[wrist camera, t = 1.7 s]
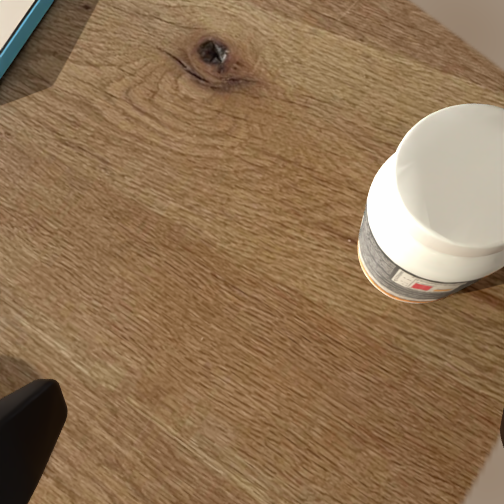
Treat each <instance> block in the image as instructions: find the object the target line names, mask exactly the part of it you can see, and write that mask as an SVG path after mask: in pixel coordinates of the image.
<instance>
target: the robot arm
mask: <svg viewBox="0 0 504 504" xmlns="http://www.w3.org/2000/svg"><path fill="white" fill-rule="evenodd" d="M66 418H67V406H66V403H65V400H64V397H63V394H62V391H61V388H60V385H59V383H58V382H57V381H56V380H53V379H37V380H34V381H33V382H31V383H29V384H27V385H25V386H24V387H22V388H20V389H18V390H16V391H15V392H13V393H11V394H9V395H7V396H5V397H4V398H2V399H0V504H28V502H29V500H30V498H31V496H32V494H33V493H34V491H35V489H36V486H37V484H38V482H39V480H40V478H41V476H42V474H43V471H44V469H45V467H46V464H47V462H48V460H49V458H50V455H51V453H52V451H53V448H54V446H55V444H56V442H57V439H58V437H59V435H60V433H61V430H62V428H63V426H64V423H65V421H66ZM500 434H501V440H502V443H503V446H504V410H503V415H502V421H501V426H500Z"/></svg>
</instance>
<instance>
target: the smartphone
mask: <svg viewBox="0 0 504 504" xmlns="http://www.w3.org/2000/svg"><path fill="white" fill-rule="evenodd" d="M53 1H54V0H0V79H1V77H2V76H3V74H4V73H5V71H6V70H7V69H8V67H9V66H10V64H11V63H12V61H13V60H14V58H15V57H16V55H17V54H18V52H19V51H20V50H21V48H22V47H23V45H24V44H25V42H26V41H27V39H28V38H29V36H30V35H31V33H32V32H33V30H34V29H35V28H36V26H37V25H38V23H39V22H40V20H41V19H42V17H43V16H44V14H45V13H46V11H47V10H48V9H49V7H50V6H51V4H52V3H53Z"/></svg>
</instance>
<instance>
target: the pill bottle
mask: <svg viewBox="0 0 504 504" xmlns="http://www.w3.org/2000/svg"><path fill="white" fill-rule="evenodd" d="M358 256H359V261H360V264H361V267H362V269H363V271H364V273H365V275H366V276H367V278H368V279H369V281H370V282H371V283H372V284H373V285H374V286H375V287H376V288H377V289H378V290H380V291H381V292H383V293H384V294H385V295H387V296H389V297H391V298H393V299H396V300H399V301H402V302H407V303H429V302H434V301H438V300H441V299H443V298H446V297H448V296H450V295H452V294H454V293H456V292H458V291H459V290H461V289H463V288H465V287H467V286H469V285H471V284H473V283H475V282H477V281H479V280H480V279H483V278H485V277H487V276H489V275H490V274H492V273H494V272H496V271H497V270H499V269H501V268H502V267H503V266H504V109H503V108H500V107H497V106H493V105H487V104H462V105H456V106H452V107H447V108H444V109H442V110H439V111H436V112H434V113H432V114H430V115H428V116H427V117H425V118H423V119H422V120H421V121H419V122H418V123H417V124H416V125H415V126H414V127H413V128H412V129H411V130H410V131H409V132H408V133H407V134H406V136H405V137H404V138H403V140H402V141H401V143H400V145H399V147H398V149H397V151H396V153H395V154H393V155H392V156H391V157H390V158H389V159H388V160H387V161H386V162H385V163H384V164H383V166H382V167H381V168H380V170H379V171H378V172H377V174H376V176H375V178H374V180H373V183H372V185H371V188H370V191H369V195H368V198H367V203H366V208H365V211H364V216H363V220H362V224H361V228H360V233H359V239H358Z"/></svg>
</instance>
